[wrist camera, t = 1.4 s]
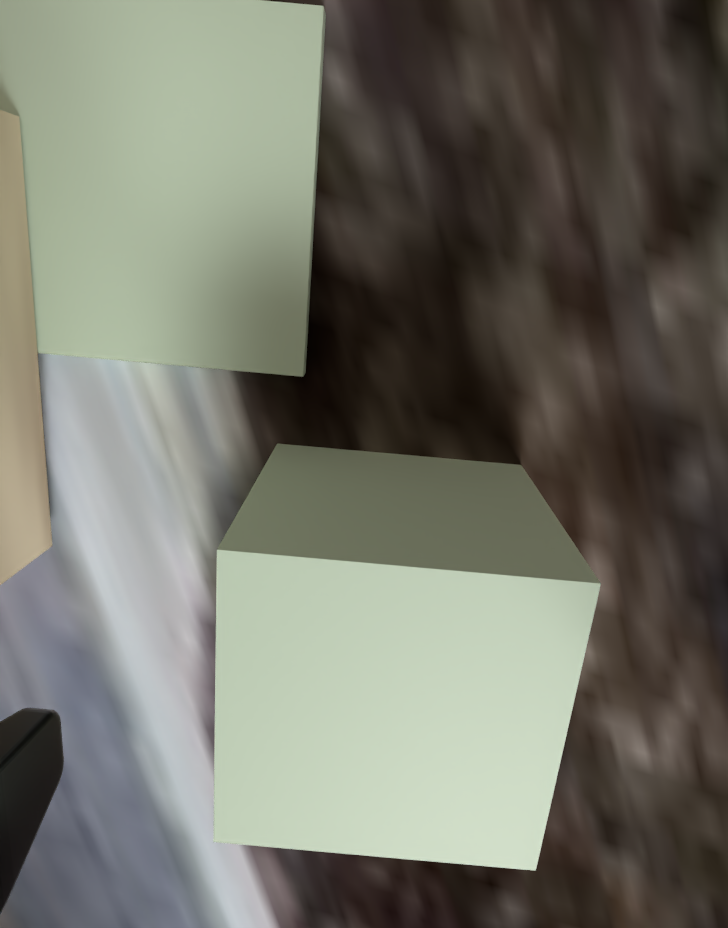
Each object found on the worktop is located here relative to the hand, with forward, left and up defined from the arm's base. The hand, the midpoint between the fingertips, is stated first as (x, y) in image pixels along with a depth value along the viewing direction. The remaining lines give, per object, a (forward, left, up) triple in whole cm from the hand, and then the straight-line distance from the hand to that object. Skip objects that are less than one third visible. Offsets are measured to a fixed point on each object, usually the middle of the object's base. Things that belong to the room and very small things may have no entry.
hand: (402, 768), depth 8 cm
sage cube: (0, 0, -6) cm, 6 cm away
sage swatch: (+5, -7, -6) cm, 10 cm away
